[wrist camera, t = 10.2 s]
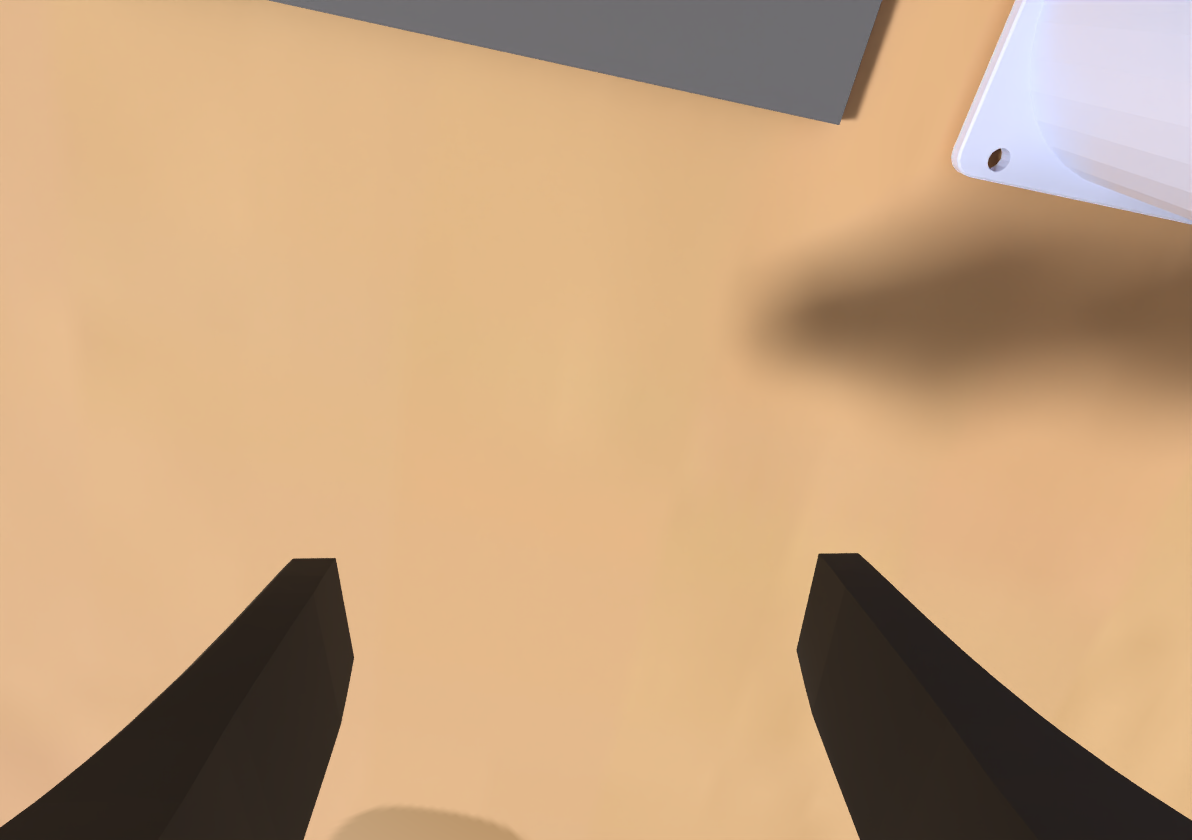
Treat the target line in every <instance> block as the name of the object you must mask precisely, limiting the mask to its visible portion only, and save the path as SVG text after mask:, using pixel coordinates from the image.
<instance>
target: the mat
mask: <svg viewBox="0 0 1192 840" xmlns="http://www.w3.org/2000/svg"><path fill="white" fill-rule="evenodd" d="M269 1H274V2H279V3H283V4H288V5H292V6H297V7H301V8H306V9H311V10H315V11H320V12H324V13H329V14H333V15H338V16H343V17H347V18H352V19H356V20H361V21H366V22H370V23H375V24H379V25H384V26H388V27H393V28H398V29H402V30H407V31H411V32H416V33H420V34H425V35H430V36H434V37H439V38H443V39H448V40H452V41H457V42H462V43H466V44H471V45H475V46H480V47H484V48H489V49H494V50H498V51H503V52H507V53H512V54H516V55H521V56H526V57H530V58H535V59H539V60H544V61H548V62H553V63H558V64H562V65H567V66H571V67H576V68H580V69H585V70H590V71H594V72H599V73H603V74H608V75H613V76H617V77H622V78H626V79H631V80H635V81H640V82H645V83H649V84H654V85H658V86H663V87H667V88H672V89H677V90H681V91H686V92H690V93H695V94H699V95H704V96H709V97H713V98H718V99H722V100H727V101H731V102H736V103H741V104H745V105H750V106H754V107H759V108H763V109H768V110H773V111H777V112H782V113H786V114H791V115H795V116H800V117H805V118H809V119H814V120H818V121H823V122H827V123H832V124H837V125H839V124H840V121H841V119H842V116H843V113H844V110H845V107H846V104H847V101H848V98H849V95H850V92H851V89H852V86H853V83H854V81H855V78H856V75H857V72H858V69H859V66H860V63H861V60H862V57H863V54H864V51H865V48H866V45H867V43H868V40H869V37H870V34H871V31H872V28H873V25H874V22H875V19H876V16H877V13H878V10H879V8H880V5H881V2H882V0H269Z"/></svg>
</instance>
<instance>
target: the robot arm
mask: <svg viewBox="0 0 1192 840" xmlns="http://www.w3.org/2000/svg"><path fill="white" fill-rule="evenodd" d="M1000 148H1001V151H1002V156H1001V159H1000V161H999V162H998V163H997V164H996V165H995V166H993V167H991V168H989V167H988V159H989V157H990V155H991V154H992V152H994V151H995V150H997V149H1000ZM951 159H952V165H953V166H954V168H955V169H956V171H958V172H960V173H962V174H964V175H966V176H968V177H972V178H976V179H981V180H986V181H990V182H995V183H1000V184H1004V185H1009V186H1014V187H1018V188H1023V189H1028V190H1032V191H1037V192H1042V193H1047V194H1051V195H1056V196H1061V197H1065V198H1070V199H1075V200H1079V201H1084V202H1089V203H1093V204H1098V205H1103V206H1107V207H1112V208H1117V209H1121V210H1126V211H1131V212H1135V213H1140V214H1145V215H1149V216H1154V217H1159V218H1163V219H1168V220H1173V221H1178V222H1182V223H1187V224H1192V0H1015V2H1014V5H1013V7H1012V10H1011V12H1010V14H1009V17H1008V19H1007V21H1006V24H1005V26H1004V29H1003V31H1002V33H1001V36H1000V38H999V41H998V43H997V45H996V48H995V50H994V52H993V55H992V57H991V60H990V62H989V64H988V67H987V69H986V72H985V74H984V76H983V79H982V81H981V84H980V86H979V88H978V91H977V93H976V95H975V98H974V100H973V103H972V105H971V107H970V110H969V112H968V115H967V117H966V119H965V122H964V124H963V126H962V129H961V131H960V134H959V136H958V138H957V141H956V143H955V146H954V148H953V152H952V156H951ZM797 654H798V658H799V663H800V667H801V671H802V675H803V680H804V684H805V688H806V692H807V696H808V700H809V703H810V707H811V711H812V715H813V717H814V720H815V723H816V726H817V728H818V731H819V734H820V736H821V739H822V742H823V744H824V747H825V750H826V752H827V755H828V758H829V760H830V763H831V766H832V768H833V771H834V773H835V776H836V779H837V781H838V784H839V786H840V789H841V791H842V794H843V797H844V799H845V802H846V804H847V807H848V810H849V812H850V815H851V817H852V820H853V823H854V825H855V828H856V830H857V833H858V836H859V838H860V840H1192V820H1190V819H1188V818H1187V817H1185V816H1184V815H1182V814H1181V813H1179V812H1178V811H1176V810H1174V809H1173V808H1171V807H1170V806H1168V805H1167V804H1165V803H1163V802H1162V801H1160V800H1159V799H1157V798H1156V797H1154V796H1153V795H1151V794H1149V793H1148V792H1146V791H1145V790H1143V789H1142V788H1140V787H1139V786H1137V785H1136V784H1134V783H1133V782H1131V781H1130V780H1129V779H1127V778H1126V777H1124V776H1123V775H1121V774H1120V773H1118V772H1117V771H1115V770H1114V769H1112V768H1111V767H1110V766H1108V765H1107V764H1105V763H1104V762H1103V761H1101V760H1100V759H1099V758H1097V757H1096V756H1094V755H1093V754H1092V753H1090V752H1089V751H1088V750H1086V749H1085V748H1083V747H1082V746H1081V745H1079V744H1078V743H1076V742H1075V741H1074V740H1072V739H1071V738H1070V737H1068V736H1067V735H1065V734H1064V733H1063V732H1061V731H1060V730H1059V729H1057V728H1056V727H1055V726H1054V725H1052V724H1051V723H1050V722H1048V721H1047V720H1046V719H1044V718H1043V717H1042V716H1041V715H1039V714H1038V713H1037V712H1035V711H1034V710H1033V709H1032V708H1031V707H1029V706H1028V705H1027V704H1026V703H1024V702H1023V701H1022V700H1021V699H1020V698H1018V697H1017V696H1016V695H1015V694H1013V693H1012V692H1011V691H1010V690H1009V689H1007V688H1006V687H1005V686H1004V685H1002V684H1001V683H1000V682H999V681H998V680H996V679H995V678H994V677H993V676H992V675H990V674H989V673H988V672H987V671H986V670H985V669H983V668H982V667H981V666H980V665H979V664H978V663H977V662H975V661H974V660H973V659H972V658H971V657H970V656H969V655H967V654H966V653H965V652H964V651H963V650H962V649H961V648H960V647H958V646H957V645H956V644H955V643H954V642H953V641H952V640H951V639H950V638H948V637H947V636H946V635H945V634H944V633H943V632H942V631H941V630H940V629H939V628H938V627H936V626H935V625H934V624H933V623H932V622H931V621H930V620H929V619H928V618H927V617H926V616H925V615H924V614H922V613H921V612H920V611H919V610H918V609H917V608H916V607H915V606H914V605H913V604H912V603H911V602H910V601H909V600H908V599H907V598H905V597H904V596H903V595H902V594H901V593H900V592H899V591H898V590H897V589H896V588H895V587H894V586H893V585H892V584H891V583H890V582H889V581H888V580H887V579H885V578H884V577H883V576H882V575H881V574H880V573H879V572H878V571H877V570H876V569H875V568H874V567H873V566H872V565H871V564H870V563H868V562H867V561H866V560H865V559H864V558H863V557H862V556H861V555H860V554H858V553H838V554H819V555H818V559H817V564H816V568H815V572H814V577H813V581H812V585H811V590H810V594H809V598H808V603H807V607H806V611H805V616H804V620H803V624H802V629H801V633H800V637H799V642H798V646H797ZM353 660H354V655H353V649H352V644H351V639H350V633H349V628H348V622H347V617H346V612H345V606H344V601H343V595H342V590H341V585H340V579H339V574H338V568H337V563H336V558H310V559H292V560H291V561H290V562H289V563H288V564H287V565H286V566H285V567H284V568H283V569H282V570H281V571H280V572H279V573H278V574H277V575H276V577H275V578H274V579H273V580H272V581H271V582H270V583H269V584H268V585H267V586H266V587H265V588H264V589H263V591H262V592H261V593H260V594H259V595H258V596H257V597H256V598H255V599H254V600H253V601H252V602H251V603H250V605H249V606H248V607H247V608H246V609H245V610H244V611H243V612H242V613H241V614H240V615H239V616H238V617H237V618H236V619H235V620H234V622H233V623H232V624H231V625H230V626H229V627H228V628H227V629H226V630H225V631H224V632H223V633H222V634H221V635H220V636H219V637H218V638H217V639H216V640H215V641H214V642H213V643H212V644H211V645H210V646H209V647H208V648H207V649H206V650H205V651H204V652H203V653H202V654H201V655H200V656H199V657H198V658H197V660H196V661H195V662H194V663H193V664H192V665H191V666H190V667H189V668H188V669H187V670H186V671H185V672H184V673H183V674H182V675H181V676H180V677H178V678H177V679H176V680H175V681H174V682H173V683H172V684H171V685H170V686H169V687H168V688H167V689H166V690H165V691H164V692H163V693H161V694H160V695H159V696H158V697H157V698H156V699H155V700H154V701H153V702H152V703H151V704H150V705H149V706H148V707H147V708H145V709H144V710H143V711H142V712H141V713H140V714H139V715H138V716H137V717H136V718H135V719H134V720H133V721H132V722H130V723H129V724H128V725H127V726H126V727H125V728H124V729H123V730H122V731H120V732H119V733H118V734H117V735H116V736H115V737H114V738H112V739H111V740H110V741H109V742H108V743H107V744H106V745H104V746H103V747H102V748H101V749H100V750H99V751H97V752H96V753H95V754H94V755H93V756H92V757H90V758H89V759H88V760H87V761H86V762H84V763H83V764H82V765H81V766H80V767H78V768H77V769H76V770H75V771H73V772H72V773H71V774H70V775H68V776H67V777H66V778H65V779H64V780H62V781H61V782H60V783H59V784H57V785H56V786H55V787H54V788H52V789H51V790H50V791H49V792H47V793H46V794H45V795H44V796H42V797H41V798H40V799H38V800H37V801H36V802H35V803H33V804H32V805H30V806H29V807H28V808H26V809H25V810H24V811H22V812H21V813H20V814H18V815H17V816H15V817H14V818H13V819H11V820H10V821H9V822H7V823H6V824H4V825H3V826H2V827H0V840H303V839H304V836H305V833H306V830H307V827H308V824H309V821H310V818H311V815H312V812H313V809H314V806H315V803H316V800H317V797H318V794H319V791H320V788H321V785H322V782H323V779H324V775H325V772H326V769H327V766H328V763H329V760H330V757H331V754H332V751H333V747H334V744H335V741H336V738H337V735H338V732H339V728H340V725H341V721H342V716H343V711H344V707H345V702H346V697H347V692H348V687H349V681H350V676H351V671H352V665H353Z"/></svg>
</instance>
